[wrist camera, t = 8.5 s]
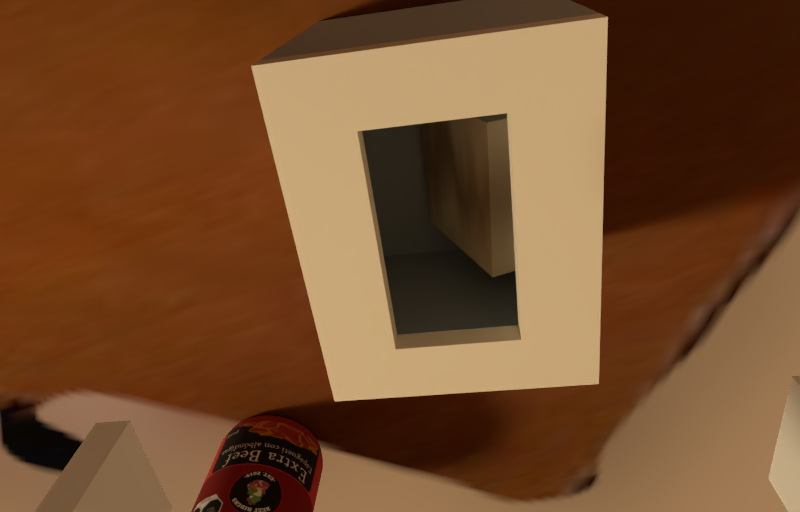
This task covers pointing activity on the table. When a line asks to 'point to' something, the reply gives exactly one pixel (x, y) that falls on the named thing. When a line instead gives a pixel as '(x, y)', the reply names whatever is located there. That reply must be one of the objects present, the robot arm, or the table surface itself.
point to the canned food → (263, 469)
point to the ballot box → (408, 196)
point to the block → (472, 187)
